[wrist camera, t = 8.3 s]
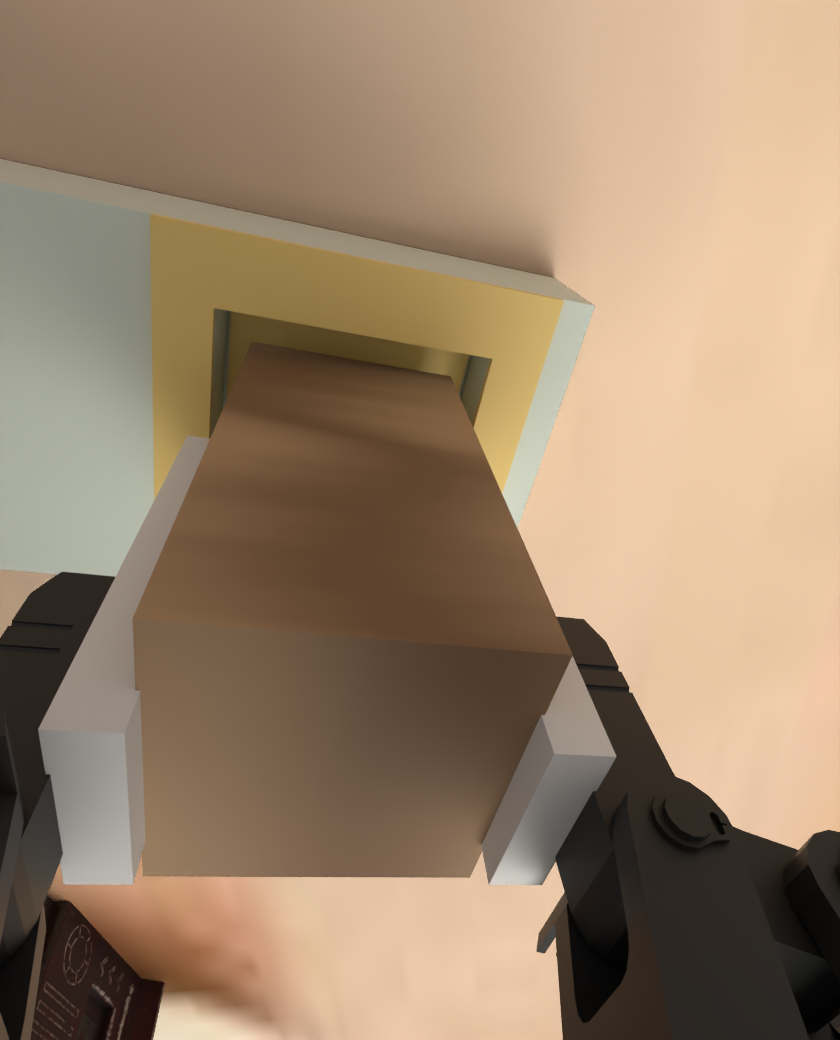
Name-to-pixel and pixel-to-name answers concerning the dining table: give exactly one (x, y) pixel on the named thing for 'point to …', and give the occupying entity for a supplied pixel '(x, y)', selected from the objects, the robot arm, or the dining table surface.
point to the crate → (89, 985)
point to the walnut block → (338, 634)
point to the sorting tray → (225, 346)
